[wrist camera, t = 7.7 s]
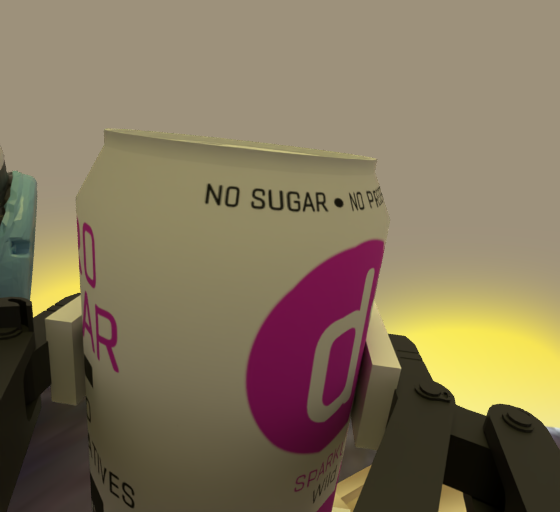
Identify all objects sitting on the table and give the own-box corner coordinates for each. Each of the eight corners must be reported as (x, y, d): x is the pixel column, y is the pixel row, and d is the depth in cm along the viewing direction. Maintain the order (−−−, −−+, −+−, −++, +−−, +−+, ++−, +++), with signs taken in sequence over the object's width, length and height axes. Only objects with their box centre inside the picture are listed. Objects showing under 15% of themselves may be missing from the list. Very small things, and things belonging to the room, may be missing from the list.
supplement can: (357, 540, 15) (445, 165, 11) (196, 788, 9) (248, 156, 5) (222, 432, 20) (245, 139, 16) (54, 548, 14) (13, 117, 9)
